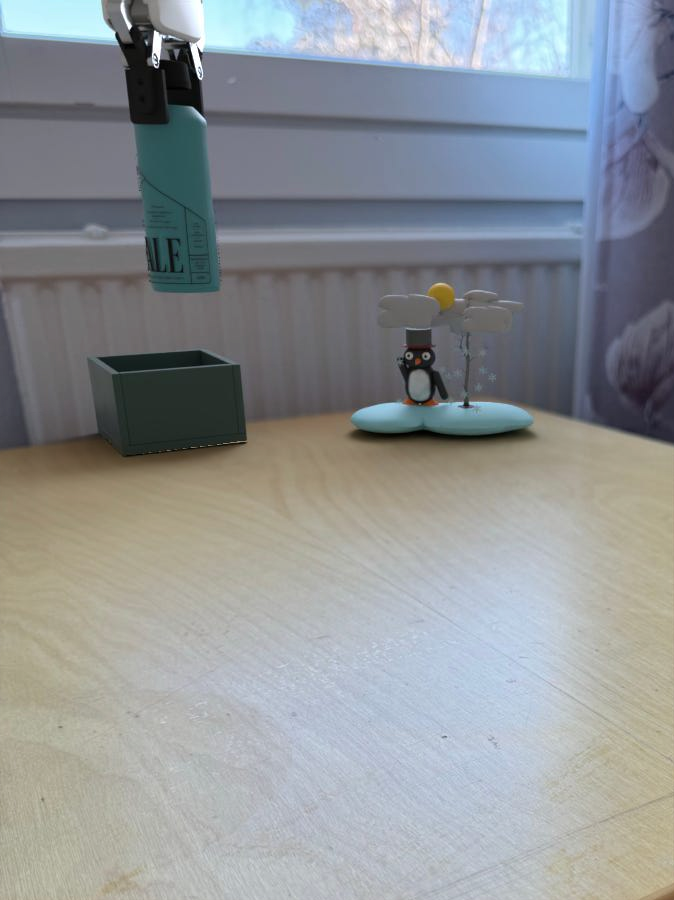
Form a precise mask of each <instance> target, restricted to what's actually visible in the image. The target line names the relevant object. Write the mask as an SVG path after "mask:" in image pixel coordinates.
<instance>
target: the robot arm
mask: <svg viewBox="0 0 674 900" xmlns="http://www.w3.org/2000/svg"><path fill="white" fill-rule="evenodd" d="M100 2H101V11H102V18H103V20H104V23H105V24H106V25H107V27H108V28H109V29H111V30H112V31H113V32H114V37H115V39H116V41H117V43H118V46H119V48H120V63H121V65H122V67H123V68H124V74H125V84H126V93H127V100H128V110H129V119H130V121H131V123H132V124H133V123H134V124H147V125H166V124H168V123H169V112H168V105H181V106H190V107H193V108H194V109H195V110H197V111H198V113H199V114H200V115H201V116H202V117H203V118H204V119H205V120H206V118H205V117H206V116H205V107H204V106H205V105H204V93H203V83H202V80H203V77H204V73H203V68H202V61H203V58H204V57H203V55H204V53H203V50H204V46H205V43H206V42H205V41H206V38H205V19H204V5H203V3H204V2H203V0H100ZM176 50H177V51H178V53H177V56H176V53H175V51H176ZM161 51H162V54H163V55H162V56H163V59H166V60H173V61H178V62H183V63H186V64H187V66H188V72H189V79H190V82H191V90H166V82H165V71H164V70H163V69H157V68H158V67H159V59H161Z"/></svg>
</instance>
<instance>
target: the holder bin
mask: <svg viewBox="0 0 674 900" xmlns="http://www.w3.org/2000/svg"><path fill="white" fill-rule="evenodd" d="M86 361H87V368H88V374H89V381H90V386H91V392H92V401H93V407H94V412H95V419H96V426H97V432H98V434H99V435H100V436H102V437H103V438H104V439H105V440H106V439H107V440H108V441H110V443H111V444H112V445H113V446H114V447H115V448H116V449H117V450H118V451H119V452H120V453H121V454H122V455H123V456H125V457H127V456H126V455H134V456H137V455H136V454H143V453H149V452H159V451H167V450H175V449H183V448H191V447H200V446H208V445H217V444H223V443H230V442H237V441H246V440H247V441H248V434H247V424H246V414H245V402H244V391H243V381H242V371H241V364H240V363H238V362H237V361H236V362H235V361H234V360H232V359H229V358H227V357H225V356H222V355H220V354H218V353H215V352H213V351H211V350H208V349H207V348H196V349H193V348H192V349H181V350H167V351H165V350H163V351H150V352H135V353H123V354H121V353H120V354H109V355H107V354H106V355H94V356H93V355H92V356H87V357H86ZM107 440H106V441H107ZM108 441H107V442H108ZM110 443H109V444H110ZM111 444H110V445H111ZM112 445H111V446H112ZM113 446H112V447H113ZM114 447H113V448H114ZM115 448H114V449H115ZM116 449H115V450H116ZM117 450H116V451H117ZM118 451H117V452H118ZM119 452H118V453H119ZM120 453H119V454H120ZM121 454H120V455H121ZM122 455H121V456H122ZM143 455H144V454H143ZM123 456H122V457H123Z"/></svg>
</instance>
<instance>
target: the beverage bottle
mask: <svg viewBox="0 0 674 900" xmlns="http://www.w3.org/2000/svg"><path fill="white" fill-rule="evenodd" d="M157 69H163V70H164V71H165V82H166V90H191V82H190V79H189V72H188V66H187V64H186V63H183V62H178V61H173V60H166V59H164V58H160V59H159V67H158V68H157ZM168 112H169V123H168V124H166V125H147V124H134V123H132V125H133V130H134V131H133V133H134V139H135V149H136V155H135V157H136V159H137V164H135V165H136V175H137V176H138V177H137V180H138V181H139V182H137V183H138V192H140V194H139V199H140V200H141V205H142V214H143V219H142V222H143V223H144V224H142V227H143V228H144V233H145V236H144V243H145V259H146V261H147V266H146V267H147V268H146V269H147V271H148V272H149V274H148V277H149V278H150V279H149V280H148V282H149V283H150V285H151V287H152V291H154V292H157V293H166V294H167V293H169V294H203V293H204V294H205V293H215V292H220V288H221V282H223V280H222V279H221V278H222V267H221V263H220V262H221V260H220V259H221V257H220V256H219V255H220V247H219V244H218V241H219V239H218V238H217V230H218V228H217V227H216V225H217V221H216V219H215V209H214V204H213V194H212V181H211V168H210V155H209V145H208V132H207V127H208V122H207V120H206V118H205V119H204V118H203V117H202V116H201V115H200V114H199V113H198V111H197V110H195V109H194V108H193V107H190V106H181V105H168Z"/></svg>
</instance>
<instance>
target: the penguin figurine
mask: <svg viewBox="0 0 674 900" xmlns="http://www.w3.org/2000/svg"><path fill="white" fill-rule="evenodd" d="M377 307H378V308H379V309H383V310H382V311H380V312H379V313H378V314H377V316H376V317H377V319H376V320H377V321H376V323H377V324H378V326H379V327H381V328H386V329H400V328H403V327H406V328H405V343H404V344H401V347H402V348H406V349H405V351H404V352H403V355H402V356H398V357H397V358H396V359H395V362H396V363H395V365H396V366H398V369H399V371H400V374H401V375H402V378H403V380H404V389H405V394H406V396H407V398H405V399H404V400H403V398H401V399H400V398H398V399H395V402H385V403H379V404H375V405H370V406H367V407H363V408H361V409H359V410H356V411H355V412H354V413H353V414H352V415H351V417H350V423H352V425H353V426H354V427H356V428H358V429H360V430H362V431H365V432H372V433H379V434H403V433H411V432H416V431H429V432H433V433H437V434H443V435H449V436H450V435H452V436H483V435H484V436H485V435H495V434H502V433H506V432H511V431H515V430H522V429H526V428H528V427H531V426H533V424H534V422H535V420H534V418H533V416H532V415H531V414H530V413H529V412H527V411H526V410H524V409H523V408H521V407H519V406H516V405H513V404H507V403H503V402H494V401H493V402H492V401H469V382H470V381H472V379H470V380H469V378H470V366H471V365H470V364H471V361H472V360H474V359H475V357H472V358H471V352H470V349H471V348H470V347H471V346H470V343H471V342H473V341H472V340H470V339H469V337H477V336H479V335H480V333H485V334H507V333H510V332H511V331H512V330H513V326H514V320H513V315H518V314H519V313H522V312H523V311H524V309H525V303H523V302H519V301H513V300H512V301H511V300H500V299H499V294H498V293H495V292H492V291H485V290H482V289H481V290H480V289H476V290H475V289H474V290H470V291H467V292H465V293H464V294H463V296H462V298H456V295H455V291H454V289H453V287H452V286H450V284H447V283H444V282H438V283H436V284H433V285H432V286H431V287H430V288H429V289H428V291H427V295H424V294H417V293H409V294H407V295H405V294H404V295H403V294H392V295H391V294H389V295H384V296H382V297H381V298H380V299H379V300H378V305H377ZM445 326H449V332H450V333H452V334H454V335H456V336H459V337H461V338H458V340H459V342H460V345H458V344H457V343H455V345H454V346H451V352H455V354H458V352H460V351H461V352H462V353H461V356H462V360H465V361H466V363H465V364H466V365H465V366H466V367H465V370H464V369H463V368H462V367H460V369H461V370H459V368H458V367H457V368H456V370H455V372H454V374H453V373H450V372H447V371H446V370H445V369H446V366H444V367H442V368H440V367H439V366H438V368H437V369H438V370H437V369H434V368H433V365H434V364H435V362H436V353H435V351H434V350H433V349H432V348H436V347H437V345H436V344H434V343H432V342H433V341H432V340H433V339H432V338H433V337H432V329H434V328H439V327H441V328H442V327H445ZM464 337H466V339H465V347H464V348H463V340H464ZM454 339H456V340H457V337H455V336H454ZM469 340H470V342H469ZM477 351H478V356H477V358H478V357H480V356H481V355H482V359H484V356H488V354H487V353H486V352H488V349H485V348H484V347H481V350H479V349H478V350H477ZM487 369H488V368H487V367H485V369H484V368H482V367H481V368H479V367H478V370H479V371H478V374H482V376H484V375H485V374H488V372H487ZM440 372H441V374H442V375H443V374H444V376H445V377H444V380H448V381H447V382H450V381H451V380H453V377H456V378H457V379H459V378H460V376H463V374H462V372H463V373H465V376H464V385H463V392H462V391H461V394H460V397H462V398H463V401H455V400H456V398H452V397H449V393H448V391H447V388H446V386H445V383H444V381H443V378H442V376H441V374H440ZM444 372H447V374H446V373H444ZM452 376H453V377H452ZM496 377H497V374H494V373H493V372H491V373H490V375H489V376H488V379H489V381H491V383H494V380H495V381H496V380H497V378H496ZM483 386H484V385H483V384H481V385H480V384H478V385H474V387H475V389H474V391H477V392H478V393H480V392H481V387H483ZM436 390H437V392H438V394H439V396H440V398H441V400H443V401H447V402H440V403H439V402H437V401H436V400H435V398H434V397H435V395H436Z"/></svg>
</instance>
